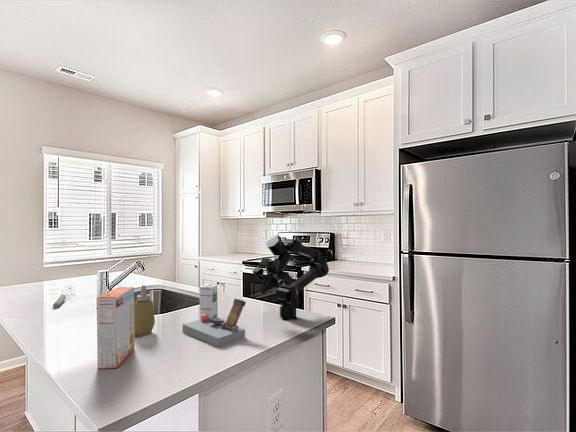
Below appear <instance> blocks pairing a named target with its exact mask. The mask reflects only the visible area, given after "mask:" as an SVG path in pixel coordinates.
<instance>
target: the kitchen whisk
mask: <svg viewBox="0 0 576 432" xmlns="http://www.w3.org/2000/svg"><path fill="white" fill-rule="evenodd" d="M75 288H76V287H73V288H72V284H70V286H68V287H67V290H65V289H66V286H64V287H63V288H61V289H60V291H62V290H63V291H62V292H63V294H60V296H58V298H57V300H56V301H55V302H54V303H53V304H52V307H53V309H56V310H57V309H58V308H59V307H60V306H61V305H62V304H63V302H64V301H65V300H66V299H67V298H69V297H70V296H72V295H74V293H73V291H74V292H76V290H75ZM68 290H69V291H70V292H67V291H68ZM64 292H65V293H64ZM68 294H70V295H68Z"/></svg>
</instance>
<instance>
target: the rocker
mask: <svg viewBox="0 0 576 432" xmlns="http://www.w3.org/2000/svg"><path fill="white" fill-rule="evenodd" d="M208 322H210V323H213V324H221V323H224V322H226V321H225V320H222V319H220V318H215V319H208Z"/></svg>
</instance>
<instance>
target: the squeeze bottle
mask: <svg viewBox="0 0 576 432" xmlns="http://www.w3.org/2000/svg"><path fill="white" fill-rule="evenodd" d="M146 287H147V286H146V285H145V284H143V285H141V289H140V293H139V294H138V295H137V296H136V301H134V336H139V337H141V336H143V337H144V336H149V335H150V334H152V332H153V329H154V326H155V324H156V321H155V320H156V319H155V310H154V301H153V300H152V299H151V294H149V293H148V291H147V288H146Z"/></svg>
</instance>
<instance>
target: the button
mask: <svg viewBox="0 0 576 432" xmlns="http://www.w3.org/2000/svg"><path fill="white" fill-rule="evenodd" d="M208 319H209V314H202V315H201V322H208Z"/></svg>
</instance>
